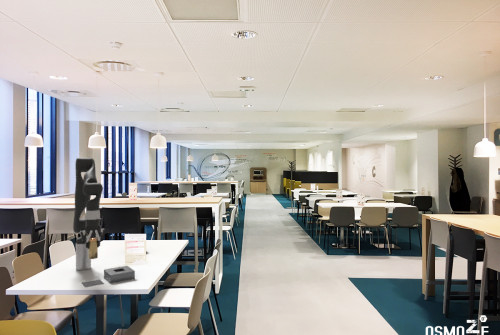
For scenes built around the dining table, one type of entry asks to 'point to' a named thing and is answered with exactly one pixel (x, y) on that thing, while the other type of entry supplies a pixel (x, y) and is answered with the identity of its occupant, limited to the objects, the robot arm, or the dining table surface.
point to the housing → (119, 274)
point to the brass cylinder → (93, 248)
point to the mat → (92, 283)
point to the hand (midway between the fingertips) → (92, 247)
